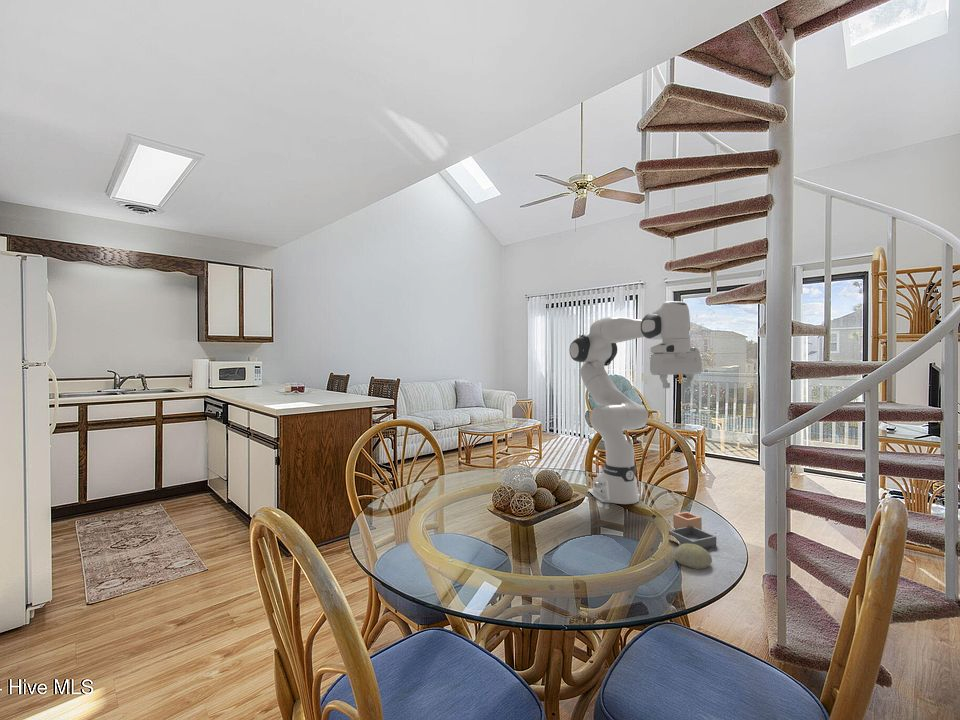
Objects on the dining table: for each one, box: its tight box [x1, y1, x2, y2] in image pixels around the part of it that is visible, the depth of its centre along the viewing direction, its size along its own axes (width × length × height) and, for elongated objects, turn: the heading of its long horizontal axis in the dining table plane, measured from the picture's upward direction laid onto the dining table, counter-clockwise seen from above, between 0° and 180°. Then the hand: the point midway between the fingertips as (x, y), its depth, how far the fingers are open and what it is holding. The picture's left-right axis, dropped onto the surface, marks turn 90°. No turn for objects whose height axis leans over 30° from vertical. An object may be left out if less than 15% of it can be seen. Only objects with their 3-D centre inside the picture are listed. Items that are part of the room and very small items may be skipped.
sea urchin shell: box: [674, 543, 713, 570], centre depth 123 cm, size 9×8×8 cm
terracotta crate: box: [672, 511, 703, 531], centre depth 146 cm, size 6×6×5 cm
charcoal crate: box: [668, 526, 717, 550], centre depth 137 cm, size 9×9×3 cm
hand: (677, 387), depth 152 cm, fingers open, 8 cm apart
